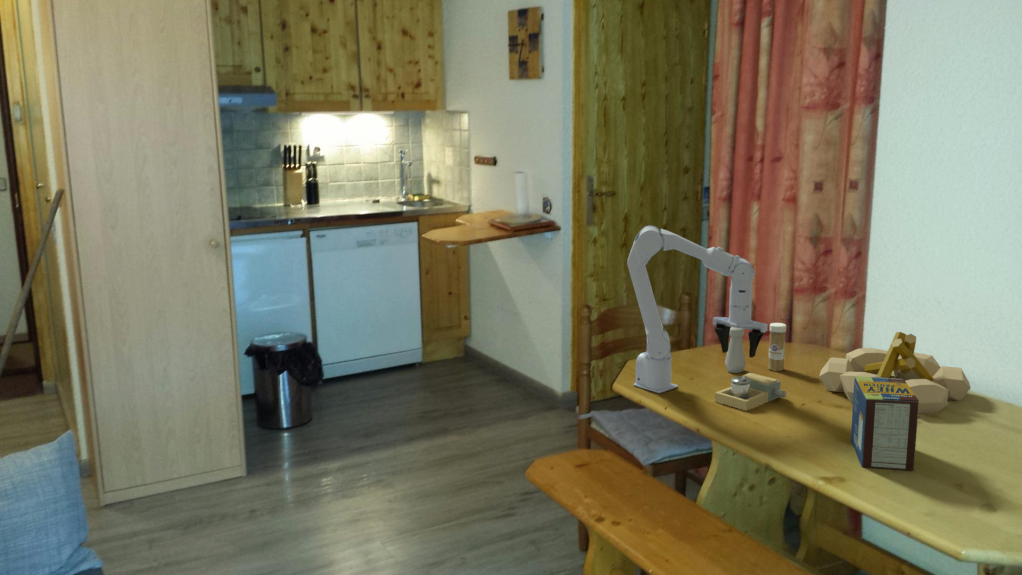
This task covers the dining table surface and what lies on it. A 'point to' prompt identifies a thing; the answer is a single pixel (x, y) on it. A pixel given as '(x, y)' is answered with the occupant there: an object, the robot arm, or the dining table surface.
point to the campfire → (898, 373)
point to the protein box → (884, 423)
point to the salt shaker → (735, 351)
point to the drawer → (752, 393)
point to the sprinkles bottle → (777, 346)
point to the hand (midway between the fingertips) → (738, 354)
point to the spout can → (740, 387)
